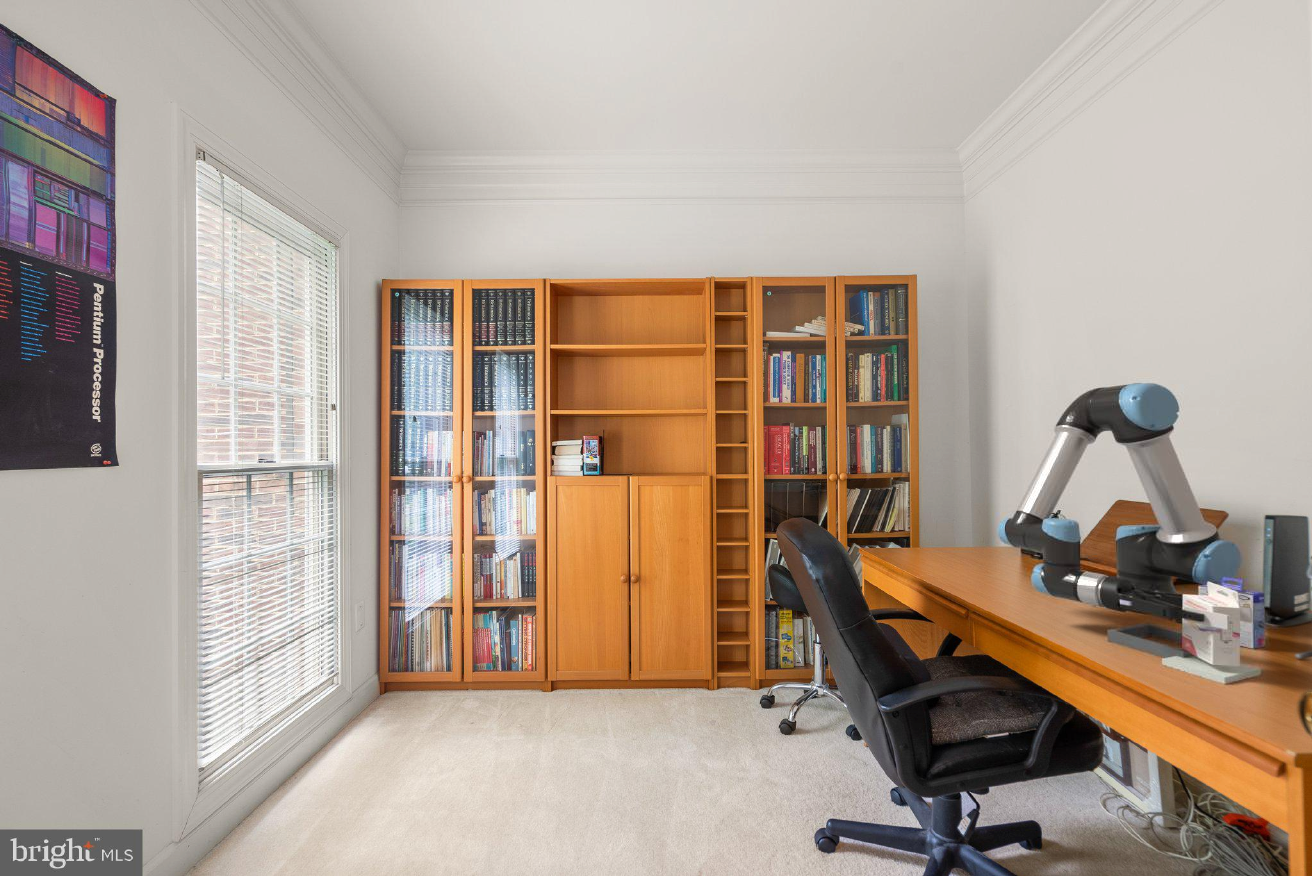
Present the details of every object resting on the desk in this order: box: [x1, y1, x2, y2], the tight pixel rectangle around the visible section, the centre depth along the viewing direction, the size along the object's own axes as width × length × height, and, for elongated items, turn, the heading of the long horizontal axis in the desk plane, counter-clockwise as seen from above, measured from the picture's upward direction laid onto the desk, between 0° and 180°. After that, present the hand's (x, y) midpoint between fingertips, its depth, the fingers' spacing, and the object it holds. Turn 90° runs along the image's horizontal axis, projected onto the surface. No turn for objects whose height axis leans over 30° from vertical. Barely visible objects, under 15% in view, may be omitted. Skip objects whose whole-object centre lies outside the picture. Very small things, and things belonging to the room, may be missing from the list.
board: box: [1161, 655, 1262, 685], centre depth 113 cm, size 12×10×1 cm
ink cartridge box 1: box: [1181, 582, 1241, 666], centre depth 113 cm, size 9×5×15 cm, turn 168°
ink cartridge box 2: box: [1197, 577, 1266, 650], centre depth 129 cm, size 10×6×14 cm, turn 23°
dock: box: [1106, 622, 1194, 659], centre depth 125 cm, size 14×14×2 cm
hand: (1239, 619), depth 109 cm, fingers open, 9 cm apart
